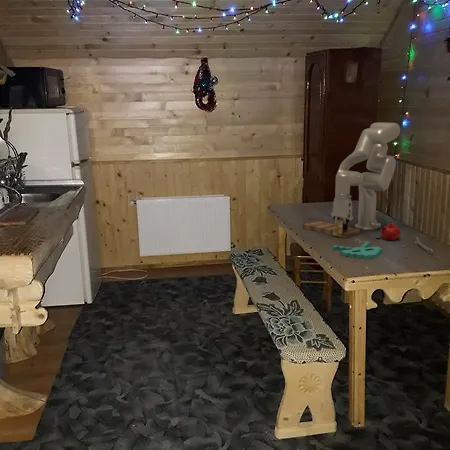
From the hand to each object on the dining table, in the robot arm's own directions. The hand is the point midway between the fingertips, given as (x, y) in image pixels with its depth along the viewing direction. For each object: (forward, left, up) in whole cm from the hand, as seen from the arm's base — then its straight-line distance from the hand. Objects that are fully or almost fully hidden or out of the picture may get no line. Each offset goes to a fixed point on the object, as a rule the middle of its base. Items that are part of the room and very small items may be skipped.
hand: (341, 229), depth 283 cm
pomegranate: (-22, -13, -4) cm, 26 cm away
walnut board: (+10, -4, -3) cm, 11 cm away
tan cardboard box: (0, 0, -3) cm, 4 cm away
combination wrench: (-43, -8, -4) cm, 44 cm away
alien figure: (-25, +18, -4) cm, 31 cm away
